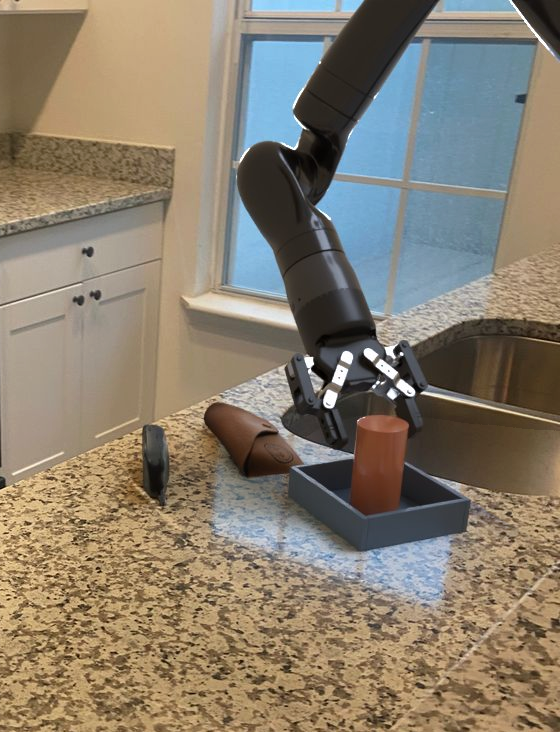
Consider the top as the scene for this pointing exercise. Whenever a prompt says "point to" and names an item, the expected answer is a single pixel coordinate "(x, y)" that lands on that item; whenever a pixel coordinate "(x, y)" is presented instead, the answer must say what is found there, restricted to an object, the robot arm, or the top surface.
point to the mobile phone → (155, 462)
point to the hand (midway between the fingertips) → (378, 440)
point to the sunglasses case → (250, 441)
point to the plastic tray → (408, 524)
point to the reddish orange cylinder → (378, 464)
